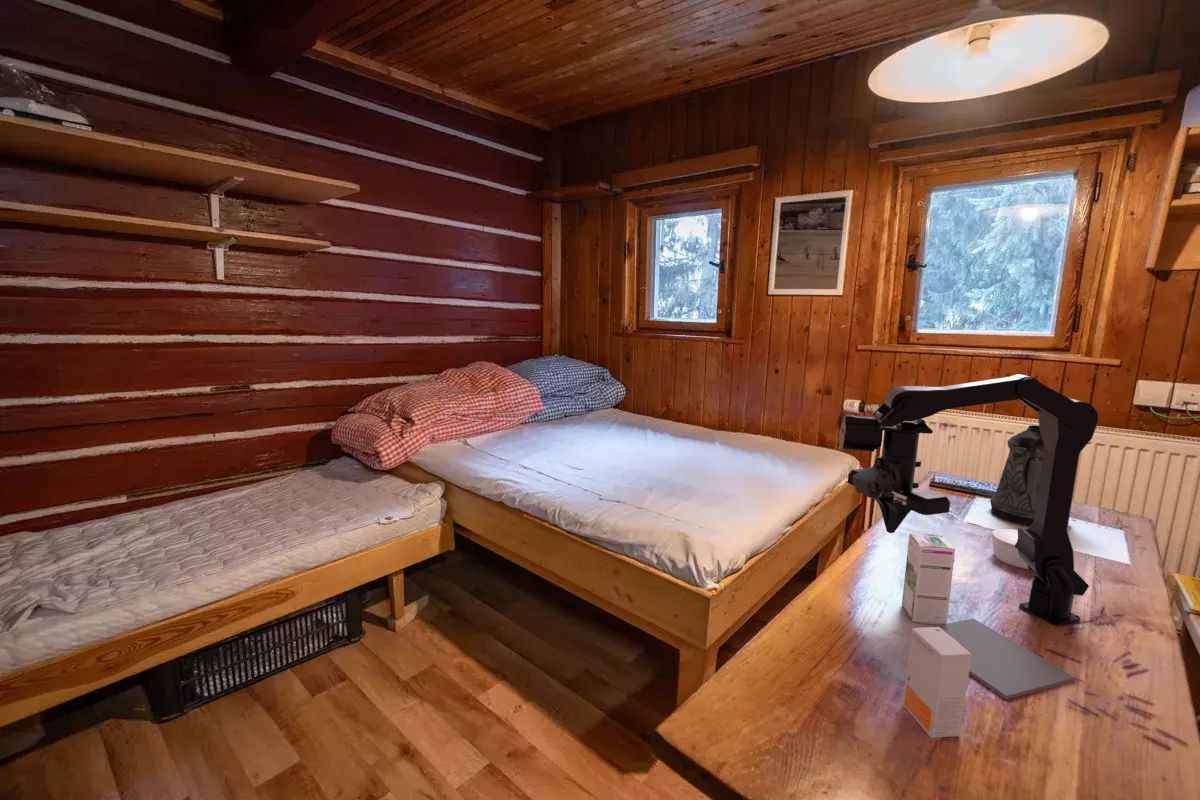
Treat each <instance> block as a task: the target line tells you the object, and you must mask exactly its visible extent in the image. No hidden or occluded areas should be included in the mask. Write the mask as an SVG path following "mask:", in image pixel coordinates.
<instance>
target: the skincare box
mask: <svg viewBox="0 0 1200 800" xmlns="http://www.w3.org/2000/svg"><path fill="white" fill-rule="evenodd" d="M910 634H911V635H910V640H909V648H908V655H907V656H908V657H907V663H906V672H905V680H904V687H903V694H902V701H901V702H902V704H901V706H903V707H904V708H905V709H906V710H907V712H908V713H909V714H910V715H911V716H912V718H914V720H915V721H916V722H917V723H918V724H919V726H921V728H922V730H923V731H925V733H926V734H927V735H928V737H930V738H931V739H934V738H947V737H948V738H949V737H952V738H953V737H959V736H960V735H961V731H962V729H961V728H962V722H963V719H964V718H963V716H964V710H965V702H966V695H967V689H968V682H969V676H970V674H969V670H970V664H971V658H972V654H971V653H970V652H968V651H967V650H966V649H965V648H964V647H962V646H961V645H960V644H959V642H958V641H956V640H955V639H954V638H952V637H951V636H949V635H948V634H947V633H946V632H945V631H943V630H942V629H941V628H940V627H934V626H930V627H928V626H927V627H924V626H923V627H913V628H911V633H910Z"/></svg>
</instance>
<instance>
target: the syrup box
mask: <svg viewBox="0 0 1200 800" xmlns="http://www.w3.org/2000/svg"><path fill="white" fill-rule="evenodd" d="M907 544H908V545H907V551H906V552H907V555H906V563H905V573H904V580H903V581H904V582H903V592H902V599H901V601H902V602H901V606H902V608H903V609H904V610H905V612H906V613H907V615H908V617H909V618H910V620H911V621H912V622H915V623H920V624H928V625H929V624H930V625H936V626H939V625H943V624H948V622H947V621H948V614H949V606H950V599H951V598H950V597H951V590H952V580H953V571H954V563H955V553H956V549H955V548H954V547H953V545H952V544H950V543H949V542H948V541H947V540H946V539H945V538H944V537H943V535H939V534H933V533H932V534H930V533H911V532H910V533H909V536H908V543H907Z"/></svg>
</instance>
